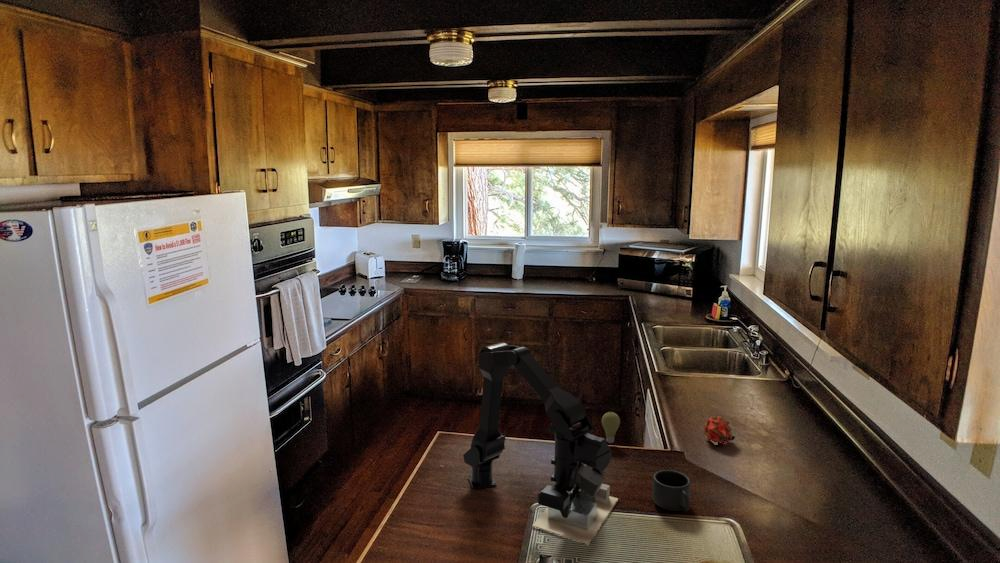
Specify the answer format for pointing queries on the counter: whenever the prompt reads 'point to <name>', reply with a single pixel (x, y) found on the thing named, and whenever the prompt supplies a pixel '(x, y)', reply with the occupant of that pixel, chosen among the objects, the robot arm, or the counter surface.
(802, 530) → the counter surface
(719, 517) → the counter surface
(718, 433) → the dragon fruit
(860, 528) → the counter surface
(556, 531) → the vise
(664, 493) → the mug
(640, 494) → the counter surface
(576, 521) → the sliding jaw
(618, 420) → the light bulb
